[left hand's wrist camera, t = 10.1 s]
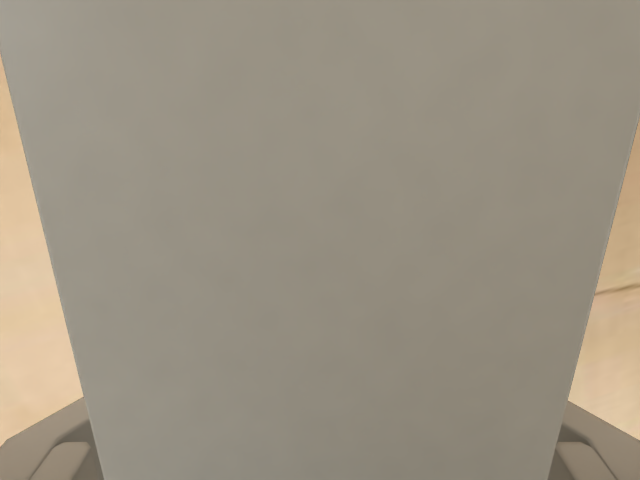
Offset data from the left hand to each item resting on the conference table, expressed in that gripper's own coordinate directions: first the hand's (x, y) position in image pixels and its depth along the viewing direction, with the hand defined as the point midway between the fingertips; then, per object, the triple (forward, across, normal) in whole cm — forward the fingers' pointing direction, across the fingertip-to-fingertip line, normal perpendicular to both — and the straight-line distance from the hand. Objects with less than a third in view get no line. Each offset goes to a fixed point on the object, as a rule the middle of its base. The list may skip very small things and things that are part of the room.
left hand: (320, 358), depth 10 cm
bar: (+3, 0, -10) cm, 10 cm away
